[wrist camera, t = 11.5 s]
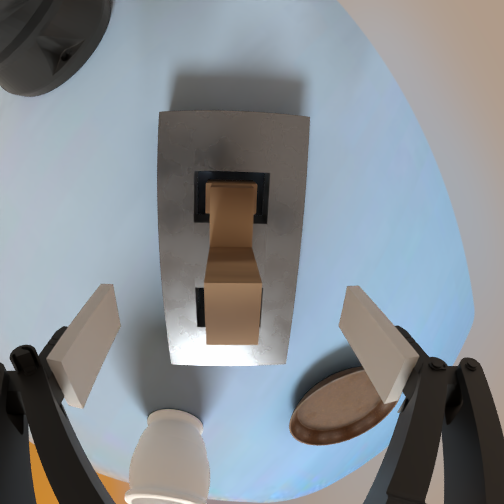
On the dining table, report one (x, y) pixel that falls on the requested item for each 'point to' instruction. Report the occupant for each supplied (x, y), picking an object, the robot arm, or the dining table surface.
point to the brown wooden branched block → (231, 265)
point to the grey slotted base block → (198, 225)
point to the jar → (170, 461)
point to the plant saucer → (338, 409)
